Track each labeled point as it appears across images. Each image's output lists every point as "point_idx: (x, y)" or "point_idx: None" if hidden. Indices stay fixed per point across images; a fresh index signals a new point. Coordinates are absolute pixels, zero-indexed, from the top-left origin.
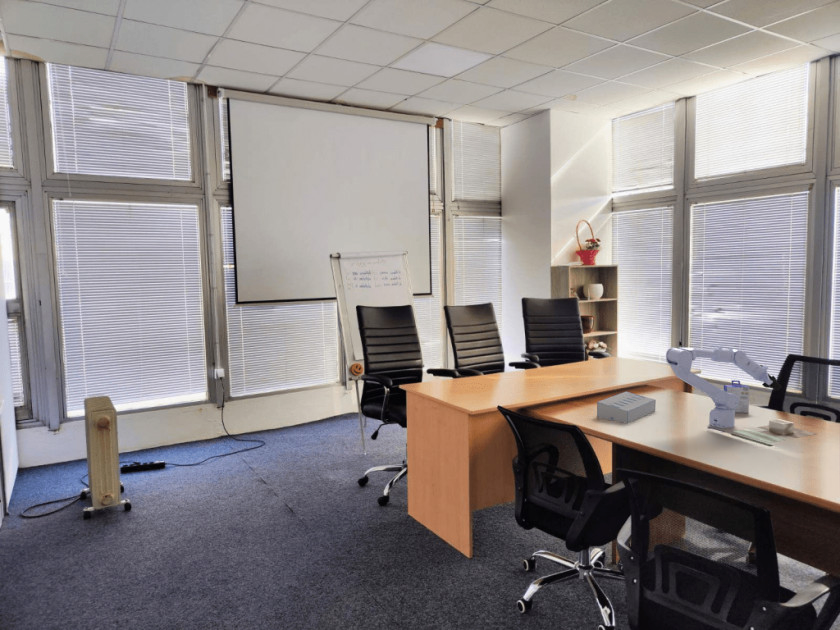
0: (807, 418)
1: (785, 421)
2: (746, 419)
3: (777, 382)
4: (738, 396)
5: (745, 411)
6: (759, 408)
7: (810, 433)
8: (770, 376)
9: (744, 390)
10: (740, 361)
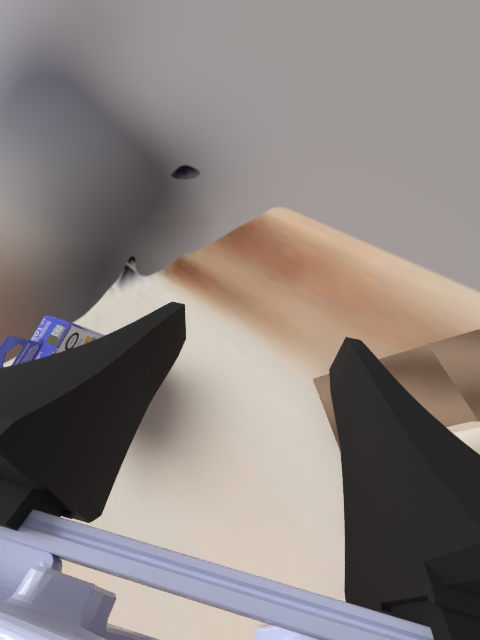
0: (231, 237)
1: (473, 449)
2: (203, 419)
3: (440, 424)
4: None
5: None
6: (126, 294)
7: (477, 355)
8: (171, 319)
9: (74, 346)
10: None
